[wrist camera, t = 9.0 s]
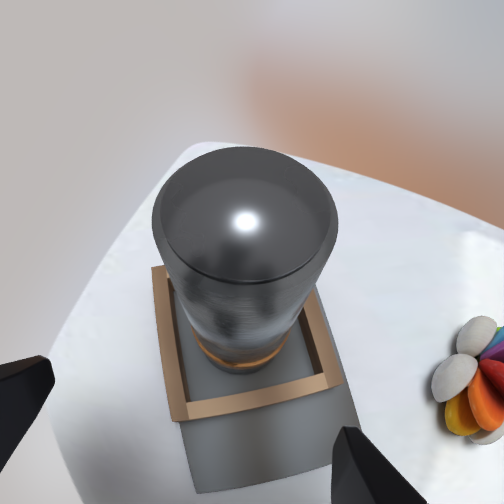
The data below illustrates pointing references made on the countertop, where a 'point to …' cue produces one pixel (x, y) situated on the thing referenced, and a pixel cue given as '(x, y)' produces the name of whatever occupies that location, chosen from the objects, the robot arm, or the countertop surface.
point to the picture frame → (253, 399)
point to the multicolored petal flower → (474, 382)
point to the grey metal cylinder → (243, 249)
